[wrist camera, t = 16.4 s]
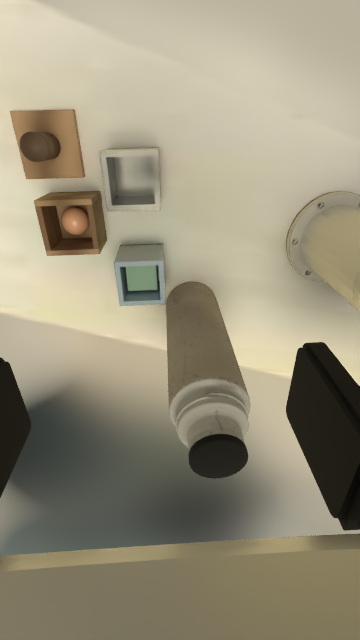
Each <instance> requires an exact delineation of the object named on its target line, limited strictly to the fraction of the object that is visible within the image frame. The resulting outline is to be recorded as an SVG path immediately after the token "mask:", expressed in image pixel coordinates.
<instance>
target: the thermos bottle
mask: <svg viewBox="0 0 360 640" xmlns="http://www.w3.org/2000/svg"><path fill="white" fill-rule="evenodd" d="M166 316H167V354H168V389H169V390H168V392H169V415H170V418H171V421H172V422H173V424H174V425H175V428H176V431H177V433H178V436H179V438H180V440H181V441H182V443H183V444H185V445H186V446H187V447H188V450H189V464H190V467H191V469H192V470H193V471H194V472H195V473H197V474H198V475H200V476H203V477H207V478H223V477H228V476H231V475H233V474H235V473H237V472H238V471H240V470H241V469H242V468H243V467H244V466H245V464H246V463H247V460H248V452H247V449H246V446H245V444H244V439H243V438H244V437H245V435H246V434H247V431H248V427H249V422H248V414H249V412H250V399H249V396H248V393H247V390H246V387H245V384H244V381H243V378H242V375H241V372H240V369H239V366H238V363H237V360H236V357H235V354H234V351H233V348H232V345H231V342H230V339H229V336H228V333H227V330H226V327H225V324H224V321H223V318H222V315H221V312H220V309H219V306H218V303H217V300H216V297H215V295H214V293H213V292H212V290H211V289H209V288H208V287H207V286H205V285H203V284H200V283H195V282H189V283H184V284H182V285H179V286H178V287H176V288H175V289H174V290H173V291H172V292H171V293H170V295H169V296H168V299H167V303H166Z"/></svg>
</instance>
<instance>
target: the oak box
mask: <svg viewBox="0 0 360 640" xmlns="http://www.w3.org/2000/svg"><path fill="white" fill-rule="evenodd" d="M34 204H35V208H36V212H37V216H38V220H39V224H40V229H41V233H42V237H43V241H44V245H45V249H46V254H47V256H55V255H83V254H100V252H101V250H102V248H103V246H104V245H105V243H106V241H107V238H106V230H105V223H104V216H103V209H102V201H101V194H100V191H90V192H57V193H48V194H46V195H44V196H42V197H40V198H39V199H37V200H35V201H34ZM71 207H77V208H80V209H82V210H83V211H84V212H85V213H86V214H87V215H88V218H89V227H88V229H87V231H86V232H84V233H83V234H80V235H73V234H70V233H68V232H67V231H66V230H65V229H64V227H63V225H62V221H61V219H62V215H63V213H64V212H65V210H67V209H69V208H71Z"/></svg>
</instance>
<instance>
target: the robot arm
mask: <svg viewBox="0 0 360 640" xmlns="http://www.w3.org/2000/svg"><path fill="white" fill-rule="evenodd" d="M319 203H320V205H319V206H318V204H319ZM293 239H294V241H292V240H293ZM287 254H288V258H289V260H290V263H291V264H292V266H293V267H294V268H295V270H296V271H297V272H299V273H300V274H301V275H302V276H304V277H305V278H308V279H311V280H315V281H325V282H327V283H328V284H329V285H330V286H331V287H332V288H333V289H334V290H336V291H337V292H338V293H339V294H340V295H341V296H342V297H344V298H345V299H346V300H347V301H348V302H349V303H350V304H351V305H353V306H354V307H355V308H356V309H357V310H358V311H359V312H360V195H357V194H354V193H350V192H333V193H329V194H326V195H323V196H321V197H319V198H317V199H315V200H314V201H312V202H311V203H309V204H308V205H307V206H306V207H305V208H304V209H303V210H302V211H301V212H300V213H299V215H298V216H297V217H296V219H295V220H294V222H293V224H292V226H291V228H290V231H289V234H288V238H287ZM286 413H287V417H288V420H289V422H290V424H291V427H292V429H293V431H294V433H295V435H296V438H297V440H298V442H299V444H300V447H301V449H302V451H303V453H304V456H305V458H306V460H307V462H308V464H309V467H310V469H311V471H312V473H313V475H314V478H315V480H316V482H317V485H318V487H319V489H320V491H321V493H322V496H323V498H324V500H325V502H326V505H327V507H328V509H329V511H330V513H331V515H332V516H333V517H334V518H338V519H339V521H340V523H341V526H342V528H343V530H359V529H360V386H359V385H358V384H357V383H356V382H355V381H354V379H353V378H352V377H351V376H350V374H349V373H348V372H347V371H346V369H345V368H344V367H343V366H342V364H341V363H340V362H339V360H338V359H337V358H336V357H335V355H334V354H333V353H332V352H331V350H330V349H329V348H328V347H327V345H326V344H325V343H323V342H317V343H305V344H304V345H303V348H299V349H298V351H297V356H296V361H295V366H294V371H293V376H292V381H291V386H290V391H289V396H288V400H287V406H286ZM30 429H31V421H30V418H29V415H28V412H27V410H26V407H25V404H24V402H23V399H22V396H21V393H20V391H19V388H18V385H17V383H16V380H15V377H14V374H13V371H12V369H11V366H10V364H9V363H8V362H5V361H4V360H3V359H2V358H0V497H1V495H2V493H3V491H4V488H5V486H6V484H7V482H8V479H9V477H10V474H11V473H12V470H13V468H14V466H15V464H16V462H17V459H18V457H19V455H20V452H21V450H22V448H23V446H24V444H25V441H26V439H27V437H28V435H29V432H30ZM0 640H360V534H342V535H320V536H298V537H282V538H266V539H248V540H232V541H215V542H199V543H185V544H170V545H154V546H139V547H124V548H109V549H95V550H80V551H66V552H51V553H39V554H24V555H10V556H0Z"/></svg>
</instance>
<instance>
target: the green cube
mask: <svg viewBox="0 0 360 640" xmlns="http://www.w3.org/2000/svg"><path fill="white" fill-rule="evenodd" d="M126 275H127V284H128V291H141V290H158V272H157V265H153V266H127V267H126Z"/></svg>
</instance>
